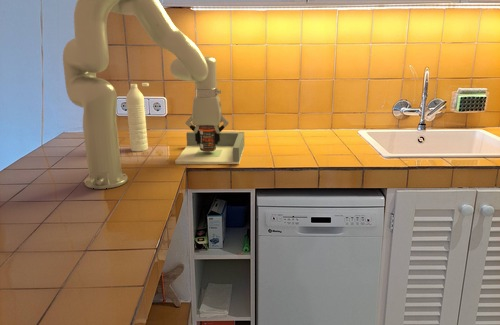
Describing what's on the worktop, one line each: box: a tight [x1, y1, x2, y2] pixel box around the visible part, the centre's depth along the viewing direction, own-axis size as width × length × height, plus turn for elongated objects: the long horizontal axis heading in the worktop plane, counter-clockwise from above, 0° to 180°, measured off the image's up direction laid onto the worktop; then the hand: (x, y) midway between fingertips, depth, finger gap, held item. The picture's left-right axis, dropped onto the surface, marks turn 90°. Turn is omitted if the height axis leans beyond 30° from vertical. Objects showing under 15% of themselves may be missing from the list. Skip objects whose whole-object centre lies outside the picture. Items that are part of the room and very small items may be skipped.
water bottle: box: [125, 82, 150, 153], centre depth 169 cm, size 9×6×25 cm
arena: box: [174, 131, 245, 165], centre depth 164 cm, size 22×22×6 cm
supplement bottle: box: [199, 125, 216, 152], centre depth 161 cm, size 6×6×11 cm
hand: (207, 142), depth 162 cm, fingers closed on supplement bottle, 5 cm apart
